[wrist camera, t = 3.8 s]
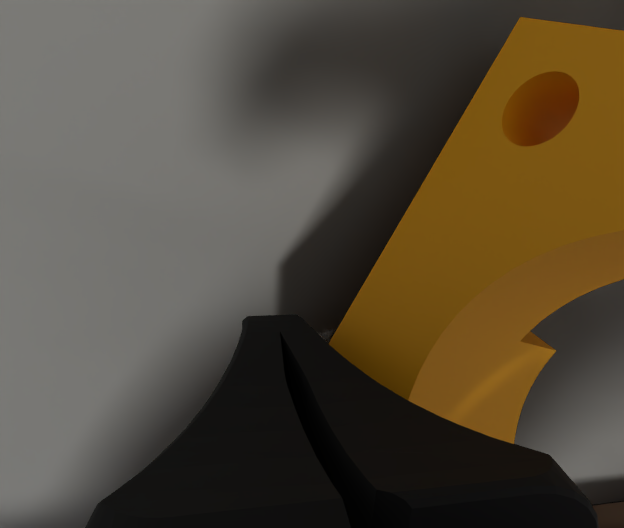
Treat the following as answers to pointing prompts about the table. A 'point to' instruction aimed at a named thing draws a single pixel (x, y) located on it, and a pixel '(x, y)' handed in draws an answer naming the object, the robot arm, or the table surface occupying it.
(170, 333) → the table surface
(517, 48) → the pipe clamp
